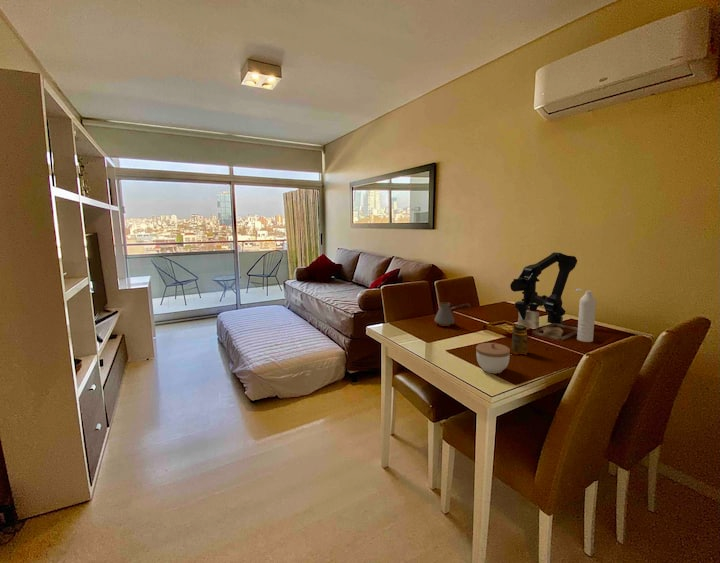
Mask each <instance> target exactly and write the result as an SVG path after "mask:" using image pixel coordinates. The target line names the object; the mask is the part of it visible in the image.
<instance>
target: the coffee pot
mask: <svg viewBox="0 0 720 563" xmlns="http://www.w3.org/2000/svg"><path fill="white" fill-rule="evenodd" d="M438 304H439V307H438V308H439V309H438V311H437V313H436V315H435V317H434V318H433V319H434V320H433V321H434V323H438V324H443V325H448V324H452V325H454V323H455V322H456V320H455V318H454V315H453V313H452V311H451V310H455V309H458V308H463V307H466V306H468V308H470V303H469V302H467V303H462V304H460V305H455V306H453V307H450V306H451V303H450V302H447V301H440V302H439V303H438ZM438 324H437V325H438Z"/></svg>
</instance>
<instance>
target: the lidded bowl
mask: <svg viewBox="0 0 720 563" xmlns="http://www.w3.org/2000/svg"><path fill="white" fill-rule="evenodd" d="M510 349H511V348H509V347H508V346H507V345H504V344H500V343H497V342H482V343H478V344H477V345H476V347H475V350H476V352H475V353H476V354H475V355H476V361H477V363H478V365H479V367H481V369H482V370H483V371H484V372H485V371H486V372H485V373H487V374H492V373H493V374H494V375H495V374H497V373H498V374H501V373H502V372H503V371H504V370H505V369H507V367H508V365H509V364H510V363H509V362H510V357H511V356H510V355H511V354H510ZM493 374H492V375H493Z"/></svg>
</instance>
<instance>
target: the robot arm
mask: <svg viewBox="0 0 720 563" xmlns="http://www.w3.org/2000/svg"><path fill="white" fill-rule="evenodd" d="M555 263H558V264H557V266H558V269H559V270H558V273H557V277H556V279H555V281H554V285H553V288H552V291H551V293H550V295H549V296H547V295H545V294H543V295H542V296H541V295H539V294H538V291H536V290H537V289H536V287H537V282H540V279H539V278H538V277H539V276H540V275H541V274H542V272H543V271H544V270H545V269H547V268H549V267H551V266H552V265H553V264H555ZM577 264H578V259H577V257H576V256H574V255H568V254H564V253H561V252H551V254H549V255H548V256H546V257H545V258H543V259H541V260H540V261H537V262H536V263H534V264H530V265H527V266H524V267H523V269H522V271H521V273H520V274H519V276H518V277H517V278H513V279H512V280H513V281H512V282H511V283H510V285H509V287H510V289H511V291H512V292H514V293H515V292H516V293H517V292H521V294H522V295H523V298H522V299H521V300H518V301H516V302H515V303H514V307H515V308H516V309H517V311H519V313H520V315H521V317H522V319H523V320H525V317H526V311H527V310H529V311H534V312H537V310H538V308H539V307H542V306H543V307H544V310H545V313H547V322H546V323H549V324H553V323H557V324H562V325H564V323H563V321H564V320H563V319H564V318H563V316H565V314H566V310H565V309H564V308H563V307H562V306H563V299H562V297H563V292H564V289H565V286H566V284H567V281H568V279H569V275H570V272H572V271H573V270H574V269H575V267H576V265H577Z"/></svg>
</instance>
